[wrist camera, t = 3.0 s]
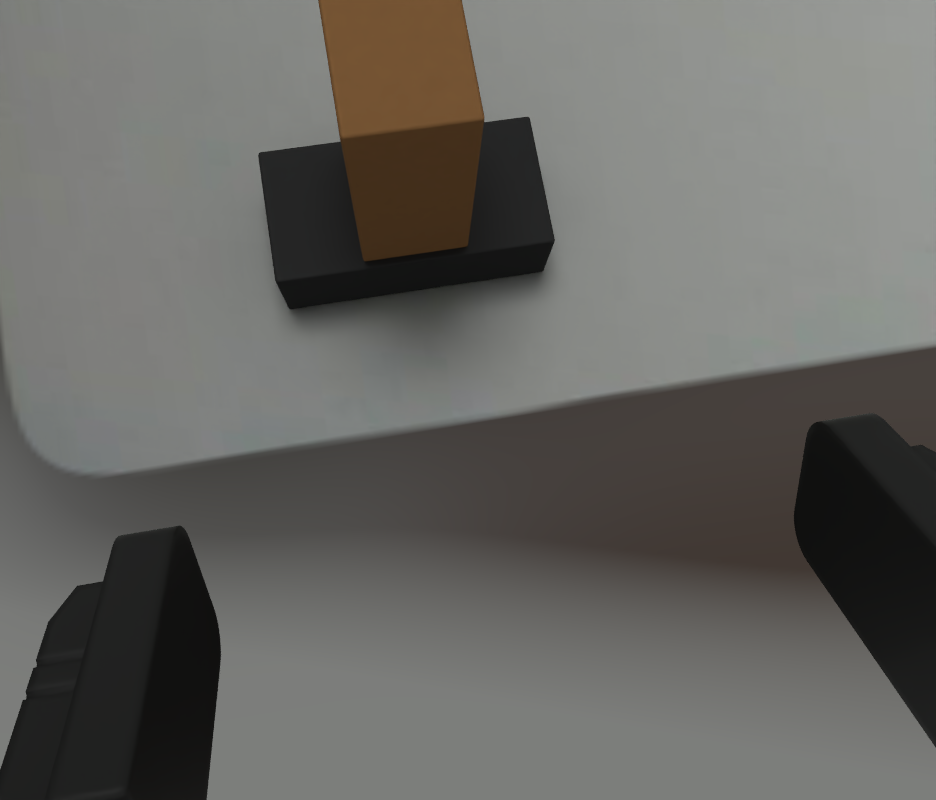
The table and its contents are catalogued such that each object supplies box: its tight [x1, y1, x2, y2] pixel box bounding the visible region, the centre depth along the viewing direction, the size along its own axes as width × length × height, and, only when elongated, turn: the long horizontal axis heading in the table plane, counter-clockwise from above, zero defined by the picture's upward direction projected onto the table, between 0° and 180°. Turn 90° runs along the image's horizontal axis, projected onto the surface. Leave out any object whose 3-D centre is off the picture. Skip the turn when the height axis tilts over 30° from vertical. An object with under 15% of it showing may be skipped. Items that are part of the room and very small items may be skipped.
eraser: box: [258, 0, 555, 309], centre depth 23 cm, size 8×4×10 cm, turn 100°
